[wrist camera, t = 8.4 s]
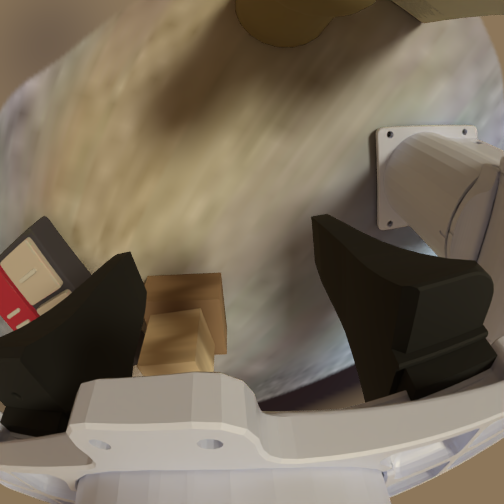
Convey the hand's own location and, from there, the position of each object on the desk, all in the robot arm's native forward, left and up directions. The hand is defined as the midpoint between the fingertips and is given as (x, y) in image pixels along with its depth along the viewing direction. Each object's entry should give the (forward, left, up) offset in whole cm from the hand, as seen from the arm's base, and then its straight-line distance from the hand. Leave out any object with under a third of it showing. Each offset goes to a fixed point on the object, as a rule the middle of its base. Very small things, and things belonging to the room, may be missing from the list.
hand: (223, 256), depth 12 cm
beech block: (+6, +10, -7) cm, 14 cm away
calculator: (+18, +8, -11) cm, 23 cm away
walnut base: (+5, +10, -11) cm, 16 cm away
